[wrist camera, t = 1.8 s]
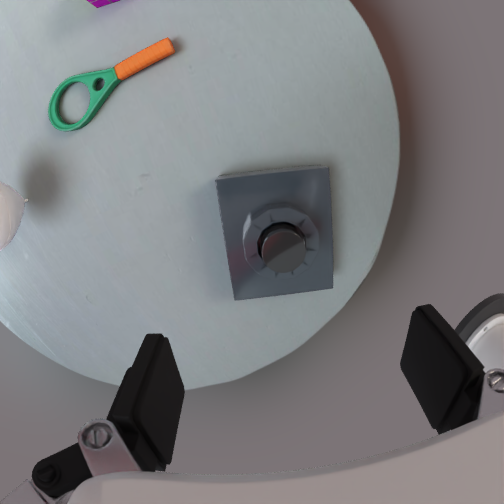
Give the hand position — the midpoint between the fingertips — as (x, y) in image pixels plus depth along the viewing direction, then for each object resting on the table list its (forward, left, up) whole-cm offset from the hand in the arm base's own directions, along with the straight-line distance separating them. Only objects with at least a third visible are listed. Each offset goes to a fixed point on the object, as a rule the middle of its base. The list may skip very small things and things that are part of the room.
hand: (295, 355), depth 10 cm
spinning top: (+28, -6, -21) cm, 35 cm away
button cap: (-1, +2, -16) cm, 16 cm away
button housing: (-1, +2, -21) cm, 21 cm away
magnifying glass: (+14, -16, -21) cm, 30 cm away
